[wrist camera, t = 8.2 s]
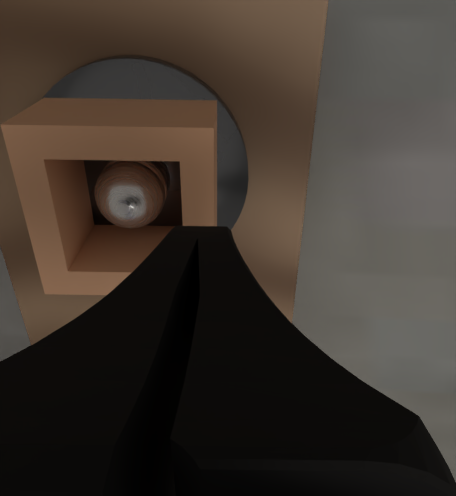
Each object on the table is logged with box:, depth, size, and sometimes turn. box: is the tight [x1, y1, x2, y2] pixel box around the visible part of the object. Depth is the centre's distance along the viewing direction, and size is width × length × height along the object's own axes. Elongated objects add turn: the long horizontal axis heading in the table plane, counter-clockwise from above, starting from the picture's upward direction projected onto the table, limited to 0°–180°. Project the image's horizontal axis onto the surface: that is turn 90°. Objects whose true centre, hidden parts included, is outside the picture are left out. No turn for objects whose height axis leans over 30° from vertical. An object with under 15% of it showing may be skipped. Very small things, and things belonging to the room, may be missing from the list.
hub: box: [42, 55, 249, 230], centre depth 14 cm, size 8×8×3 cm
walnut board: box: [0, 0, 328, 345], centre depth 18 cm, size 20×12×2 cm, turn 0°
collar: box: [1, 98, 217, 295], centre depth 14 cm, size 5×5×3 cm
